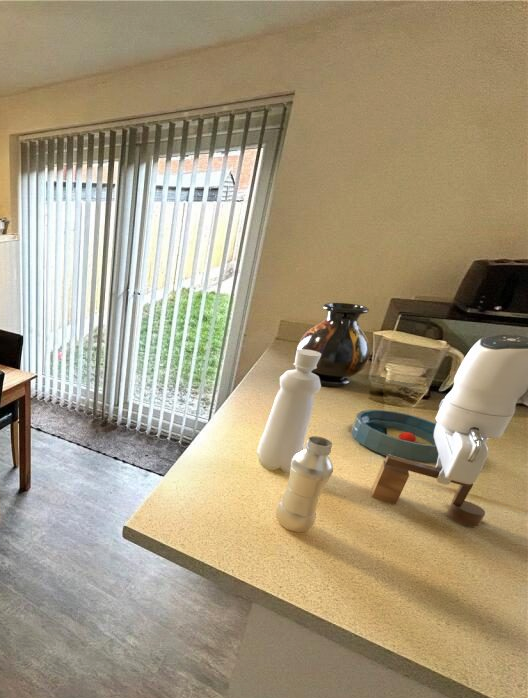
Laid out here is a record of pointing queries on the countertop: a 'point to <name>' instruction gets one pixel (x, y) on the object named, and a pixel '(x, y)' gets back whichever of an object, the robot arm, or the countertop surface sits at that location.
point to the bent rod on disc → (458, 508)
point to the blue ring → (374, 436)
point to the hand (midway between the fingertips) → (440, 478)
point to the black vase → (338, 344)
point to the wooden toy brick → (389, 483)
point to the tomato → (407, 437)
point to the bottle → (290, 413)
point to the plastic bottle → (305, 485)
